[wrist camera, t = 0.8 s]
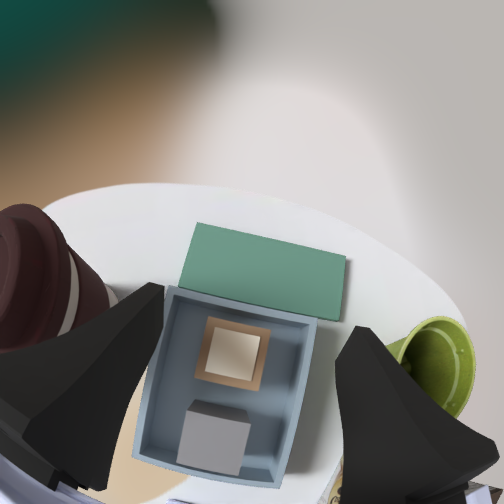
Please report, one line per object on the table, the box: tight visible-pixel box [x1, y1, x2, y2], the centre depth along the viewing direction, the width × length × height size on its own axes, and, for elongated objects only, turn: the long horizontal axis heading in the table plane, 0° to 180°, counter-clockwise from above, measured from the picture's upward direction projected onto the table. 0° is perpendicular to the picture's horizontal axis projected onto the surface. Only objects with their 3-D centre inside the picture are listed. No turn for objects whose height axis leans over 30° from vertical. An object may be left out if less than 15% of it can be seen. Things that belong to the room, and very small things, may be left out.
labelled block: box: [194, 316, 271, 391], centre depth 20 cm, size 4×4×5 cm
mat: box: [178, 222, 346, 322], centre depth 26 cm, size 6×15×1 cm, turn 78°
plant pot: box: [385, 316, 476, 418], centre depth 19 cm, size 9×9×9 cm
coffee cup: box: [0, 204, 119, 354], centre depth 16 cm, size 10×10×15 cm
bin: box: [132, 285, 318, 489], centre depth 20 cm, size 15×12×4 cm
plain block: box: [176, 399, 251, 476], centre depth 18 cm, size 4×4×5 cm
